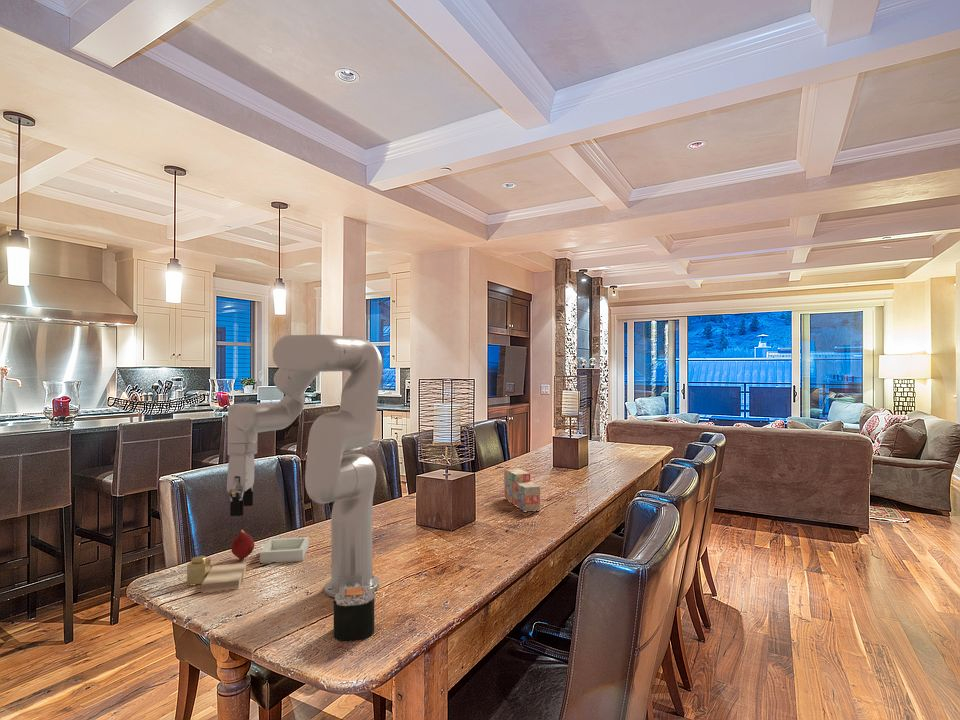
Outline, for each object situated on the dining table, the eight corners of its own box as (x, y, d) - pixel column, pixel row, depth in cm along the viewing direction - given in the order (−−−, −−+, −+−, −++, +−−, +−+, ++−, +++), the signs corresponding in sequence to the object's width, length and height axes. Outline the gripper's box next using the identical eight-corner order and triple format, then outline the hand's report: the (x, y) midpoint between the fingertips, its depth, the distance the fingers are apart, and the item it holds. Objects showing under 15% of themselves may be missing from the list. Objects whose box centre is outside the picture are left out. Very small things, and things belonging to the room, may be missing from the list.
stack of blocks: (540, 511, 188) (540, 477, 188) (524, 513, 186) (524, 479, 186) (518, 498, 209) (518, 467, 209) (504, 499, 207) (503, 468, 207)
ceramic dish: (302, 561, 141) (302, 549, 141) (259, 563, 139) (259, 552, 139) (308, 547, 152) (308, 537, 152) (269, 549, 150) (269, 539, 150)
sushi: (331, 644, 98) (331, 602, 98) (335, 623, 106) (335, 584, 107) (375, 639, 100) (375, 598, 100) (375, 619, 108) (375, 580, 108)
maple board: (238, 590, 123) (238, 580, 123) (201, 595, 121) (201, 584, 121) (246, 572, 135) (246, 562, 135) (212, 575, 133) (212, 565, 133)
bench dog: (204, 584, 126) (204, 560, 126) (187, 585, 125) (187, 561, 125) (210, 577, 130) (210, 554, 130) (193, 579, 129) (193, 555, 129)
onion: (258, 556, 145) (258, 527, 145) (244, 564, 139) (244, 534, 139) (241, 554, 146) (241, 526, 146) (226, 562, 141) (226, 532, 141)
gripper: (237, 444, 151) (236, 502, 151) (217, 454, 134) (217, 520, 134) (264, 443, 152) (263, 501, 152) (248, 453, 135) (248, 519, 135)
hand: (242, 510), depth 143 cm, fingers open, 9 cm apart
